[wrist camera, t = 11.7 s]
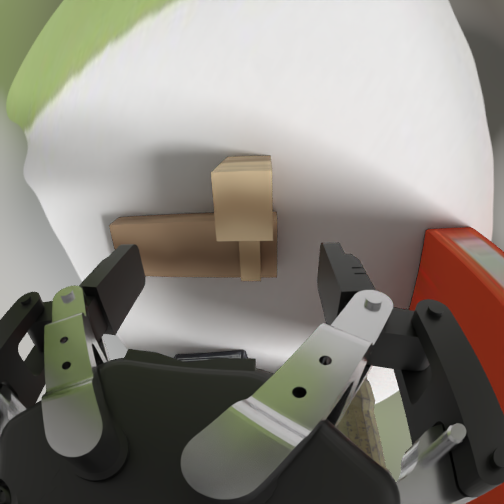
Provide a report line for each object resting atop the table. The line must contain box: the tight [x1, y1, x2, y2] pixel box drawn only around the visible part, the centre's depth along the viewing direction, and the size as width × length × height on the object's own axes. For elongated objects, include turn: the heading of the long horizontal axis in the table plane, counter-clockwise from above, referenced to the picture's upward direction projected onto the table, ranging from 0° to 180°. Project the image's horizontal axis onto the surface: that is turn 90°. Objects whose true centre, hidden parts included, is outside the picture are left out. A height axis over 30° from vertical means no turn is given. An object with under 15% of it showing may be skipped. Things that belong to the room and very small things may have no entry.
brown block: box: [109, 212, 277, 277], centre depth 28 cm, size 6×17×2 cm, turn 92°
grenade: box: [336, 376, 392, 476], centre depth 23 cm, size 9×12×35 cm
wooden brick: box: [211, 156, 273, 281], centre depth 24 cm, size 11×4×8 cm, turn 2°
